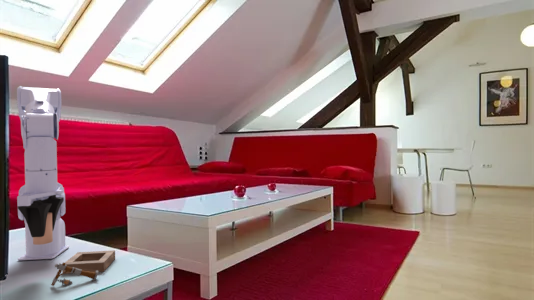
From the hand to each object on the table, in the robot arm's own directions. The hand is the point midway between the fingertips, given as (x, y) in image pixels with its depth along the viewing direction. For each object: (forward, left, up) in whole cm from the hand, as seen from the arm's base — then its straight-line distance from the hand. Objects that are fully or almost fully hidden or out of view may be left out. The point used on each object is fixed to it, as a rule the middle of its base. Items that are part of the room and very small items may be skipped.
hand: (42, 234), depth 73 cm
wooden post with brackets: (+6, +9, -9) cm, 14 cm away
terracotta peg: (0, 0, -2) cm, 2 cm away
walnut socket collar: (-4, +8, -9) cm, 12 cm away
